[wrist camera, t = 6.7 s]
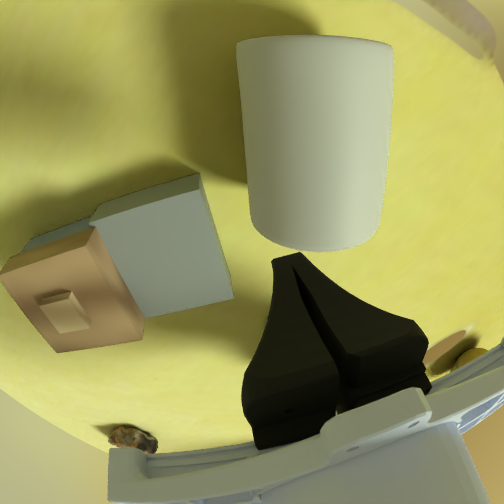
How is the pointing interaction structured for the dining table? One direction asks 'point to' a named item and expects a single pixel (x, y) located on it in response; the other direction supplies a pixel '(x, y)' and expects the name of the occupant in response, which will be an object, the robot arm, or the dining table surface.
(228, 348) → the dining table surface
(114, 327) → the lid
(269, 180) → the mug
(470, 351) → the fruit
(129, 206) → the stand
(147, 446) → the rock
